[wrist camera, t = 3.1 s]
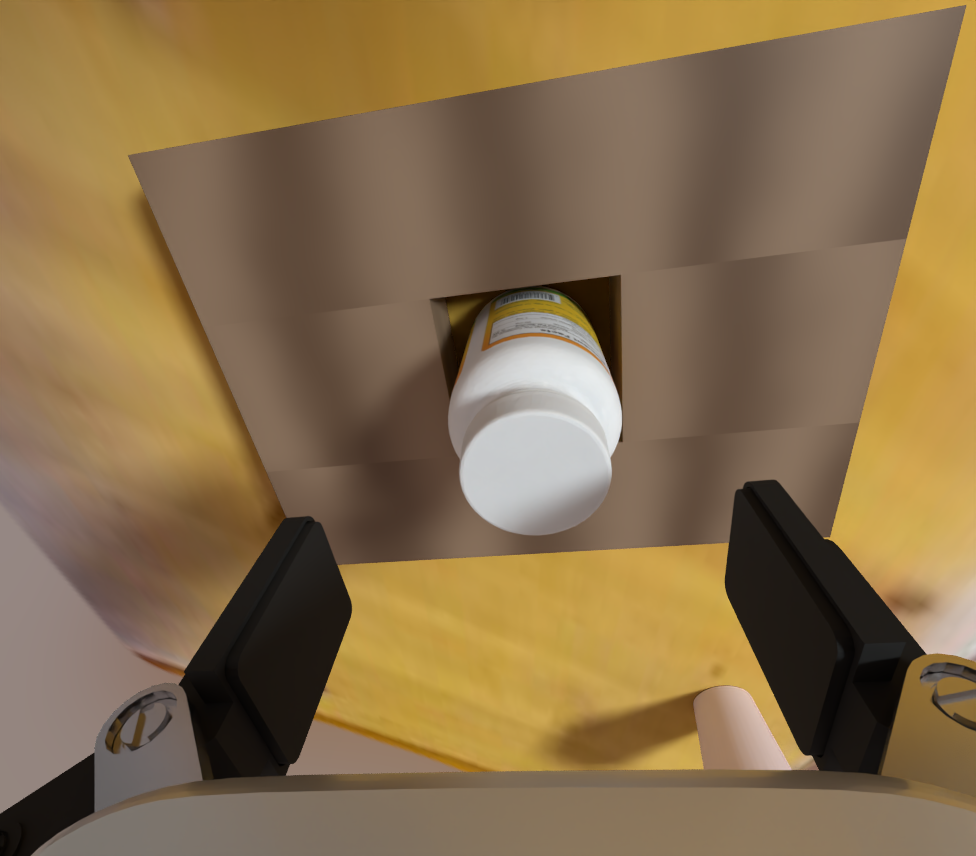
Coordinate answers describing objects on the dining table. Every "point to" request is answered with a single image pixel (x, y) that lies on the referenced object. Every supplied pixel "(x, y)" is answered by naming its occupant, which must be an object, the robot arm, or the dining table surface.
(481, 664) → the dining table surface
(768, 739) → the smoothie
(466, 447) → the supplement bottle
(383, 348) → the pocket board
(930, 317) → the dining table surface
